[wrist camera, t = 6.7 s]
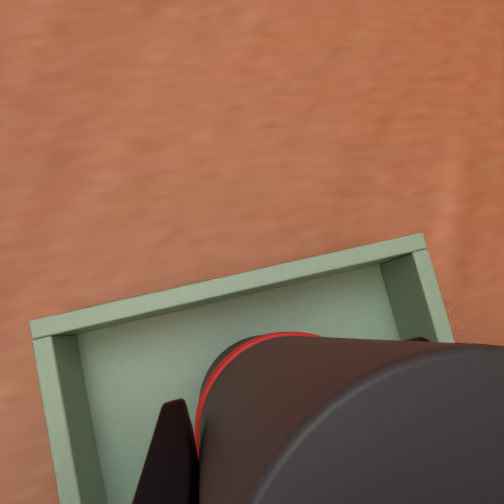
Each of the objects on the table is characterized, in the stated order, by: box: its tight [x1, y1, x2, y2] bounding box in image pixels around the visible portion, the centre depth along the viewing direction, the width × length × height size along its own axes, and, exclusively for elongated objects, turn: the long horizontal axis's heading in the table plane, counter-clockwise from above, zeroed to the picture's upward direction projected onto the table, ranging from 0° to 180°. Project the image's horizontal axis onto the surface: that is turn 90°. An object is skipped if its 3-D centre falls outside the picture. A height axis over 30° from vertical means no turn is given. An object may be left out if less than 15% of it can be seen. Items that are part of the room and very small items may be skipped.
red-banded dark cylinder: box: [194, 332, 504, 504], centre depth 9 cm, size 5×5×12 cm
